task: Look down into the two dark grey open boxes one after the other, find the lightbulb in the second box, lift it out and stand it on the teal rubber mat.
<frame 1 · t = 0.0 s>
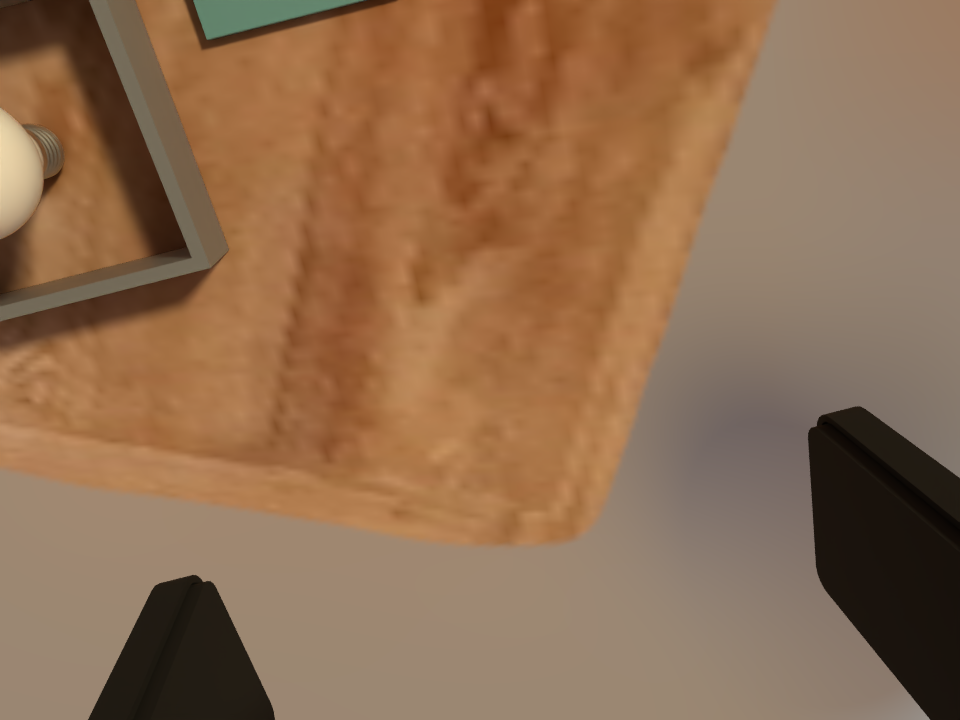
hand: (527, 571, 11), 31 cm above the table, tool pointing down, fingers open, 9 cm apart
lightbulb: (44, 149, 37), resting in box b
box b: (42, 150, 37), on the table
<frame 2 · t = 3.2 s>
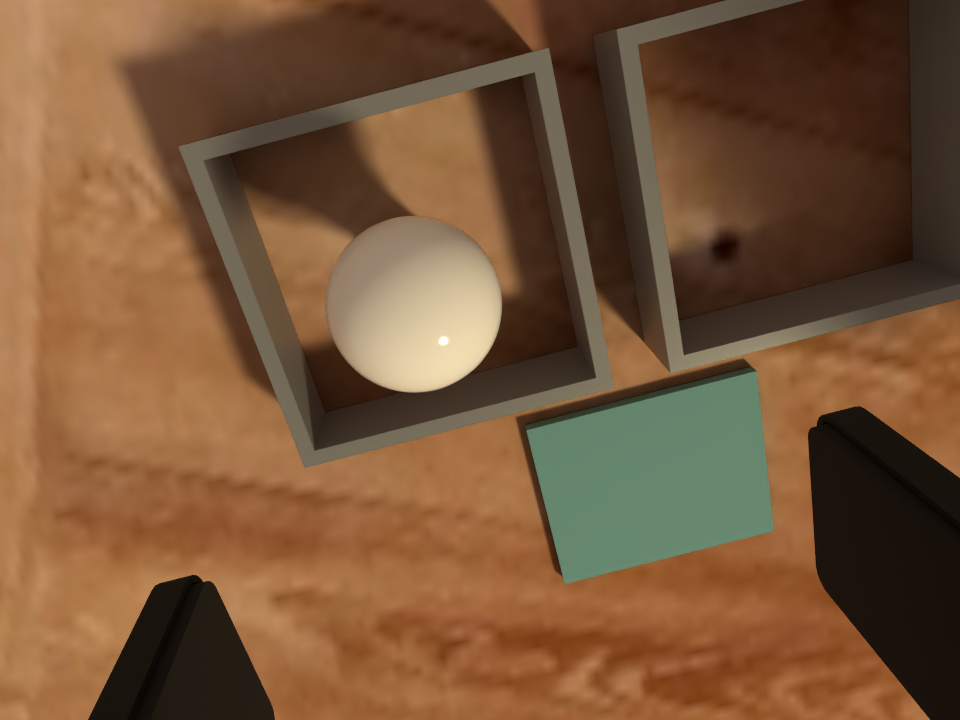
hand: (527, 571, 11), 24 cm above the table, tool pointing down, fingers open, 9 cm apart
box a: (772, 161, 33), on the table
lightbulb: (415, 254, 33), resting in box b
mat: (652, 477, 39), on the table
box b: (415, 255, 33), on the table
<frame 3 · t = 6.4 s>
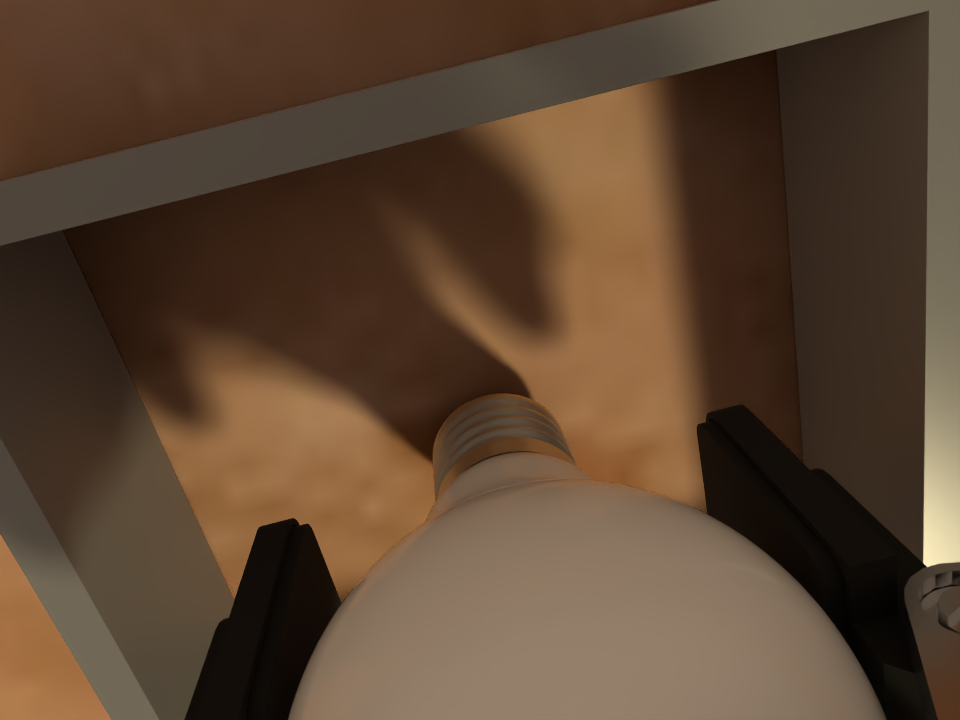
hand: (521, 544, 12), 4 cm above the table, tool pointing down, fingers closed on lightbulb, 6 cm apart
lightbulb: (494, 434, 15), resting in box b, touching gripper
box b: (495, 438, 15), on the table
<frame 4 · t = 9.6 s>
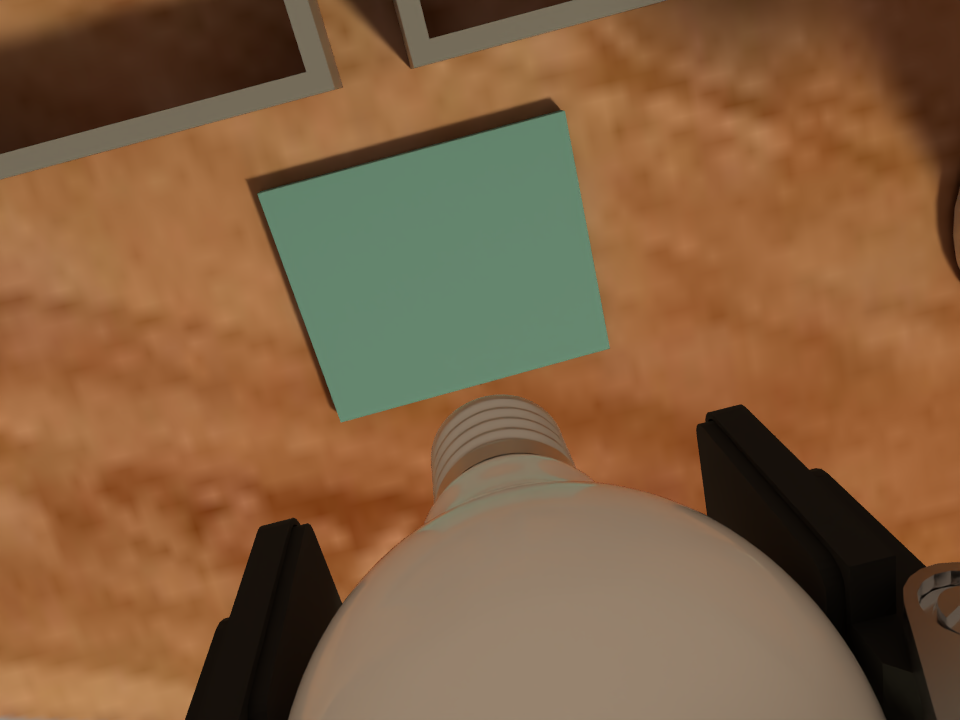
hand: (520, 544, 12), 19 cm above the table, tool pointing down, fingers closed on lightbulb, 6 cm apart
lightbulb: (492, 435, 15), point 15 cm above the table, touching gripper
mat: (444, 272, 29), on the table
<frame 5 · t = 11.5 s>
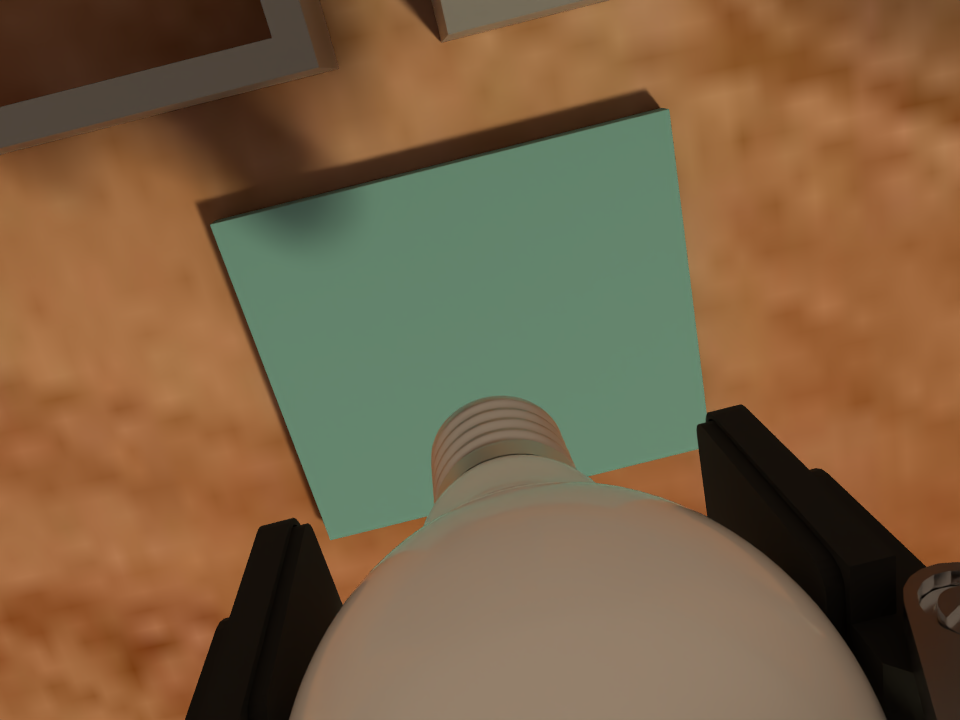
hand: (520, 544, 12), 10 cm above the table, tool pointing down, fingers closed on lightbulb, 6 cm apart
lightbulb: (492, 436, 15), point 6 cm above the table, touching gripper
mat: (481, 338, 21), on the table
when the fingers open (6 cm above the table, at t = 12.9 s): lightbulb drops 1 cm, resting on mat.
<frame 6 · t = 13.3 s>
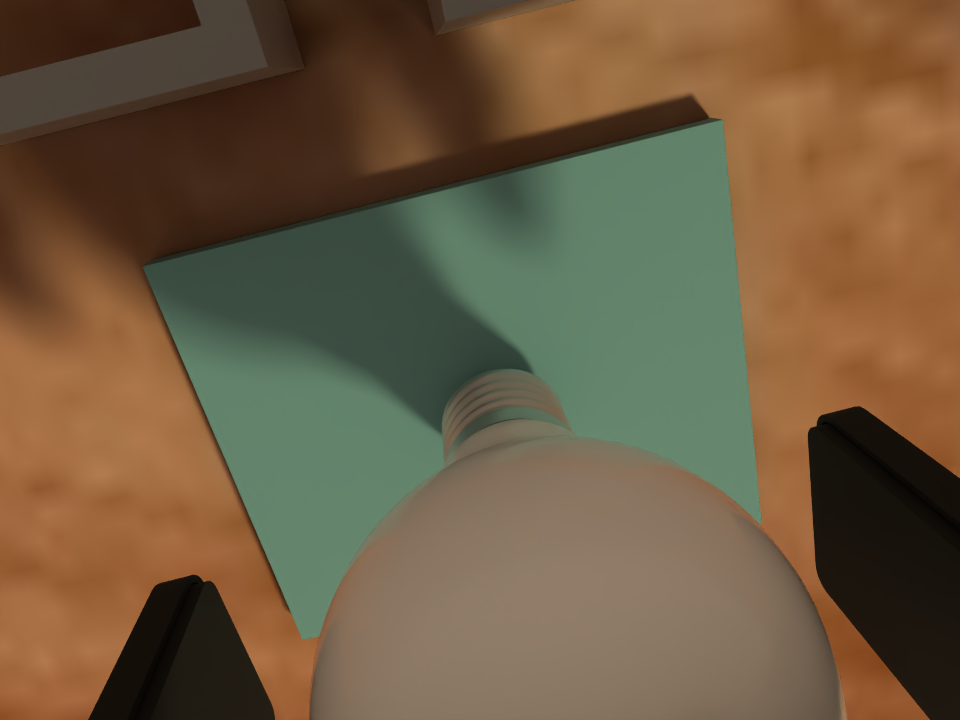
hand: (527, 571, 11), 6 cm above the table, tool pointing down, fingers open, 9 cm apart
lightbulb: (498, 406, 16), resting on mat
mat: (485, 399, 17), on the table
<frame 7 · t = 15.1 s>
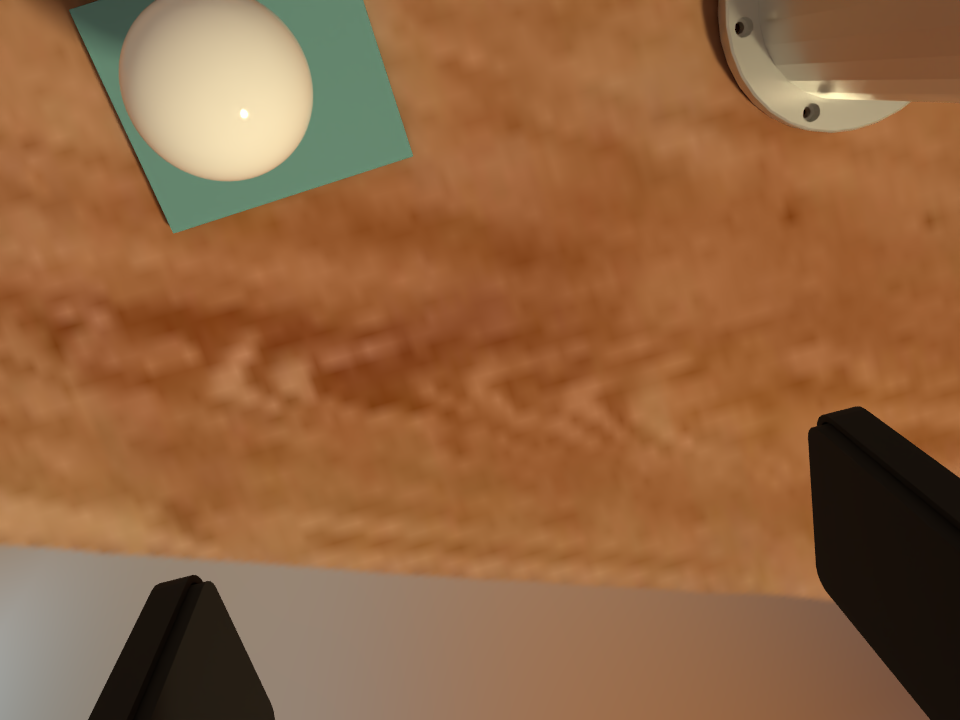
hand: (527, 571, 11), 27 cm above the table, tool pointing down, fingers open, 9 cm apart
lightbulb: (257, 87, 33), resting on mat
mat: (253, 87, 33), on the table
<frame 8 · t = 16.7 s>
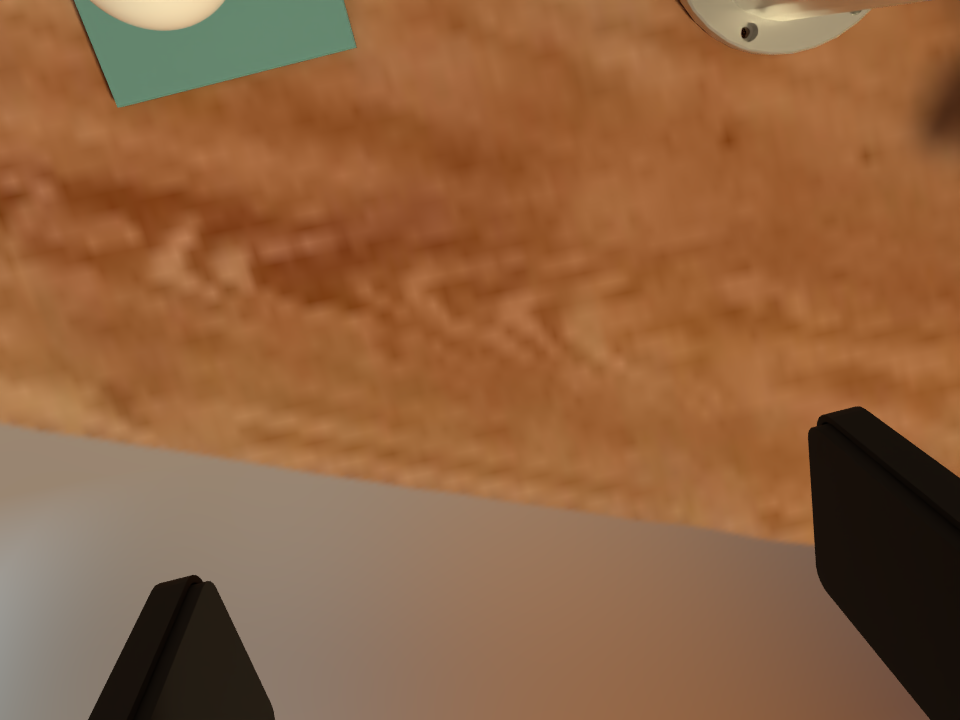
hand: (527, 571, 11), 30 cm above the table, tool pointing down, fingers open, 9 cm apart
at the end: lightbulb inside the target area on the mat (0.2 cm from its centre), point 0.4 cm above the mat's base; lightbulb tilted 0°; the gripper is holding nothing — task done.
